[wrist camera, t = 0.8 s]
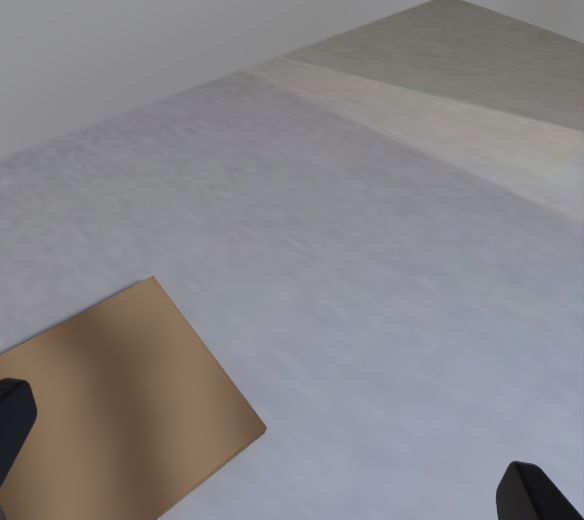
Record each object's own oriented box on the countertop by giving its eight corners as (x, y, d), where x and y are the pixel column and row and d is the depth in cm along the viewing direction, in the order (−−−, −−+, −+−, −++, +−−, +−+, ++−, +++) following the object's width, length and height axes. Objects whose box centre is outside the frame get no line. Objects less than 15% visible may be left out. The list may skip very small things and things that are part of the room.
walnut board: (51, 603, 18) (44, 603, 18) (-45, 390, 23) (-55, 383, 22) (264, 432, 24) (266, 427, 23) (154, 284, 28) (153, 275, 27)
